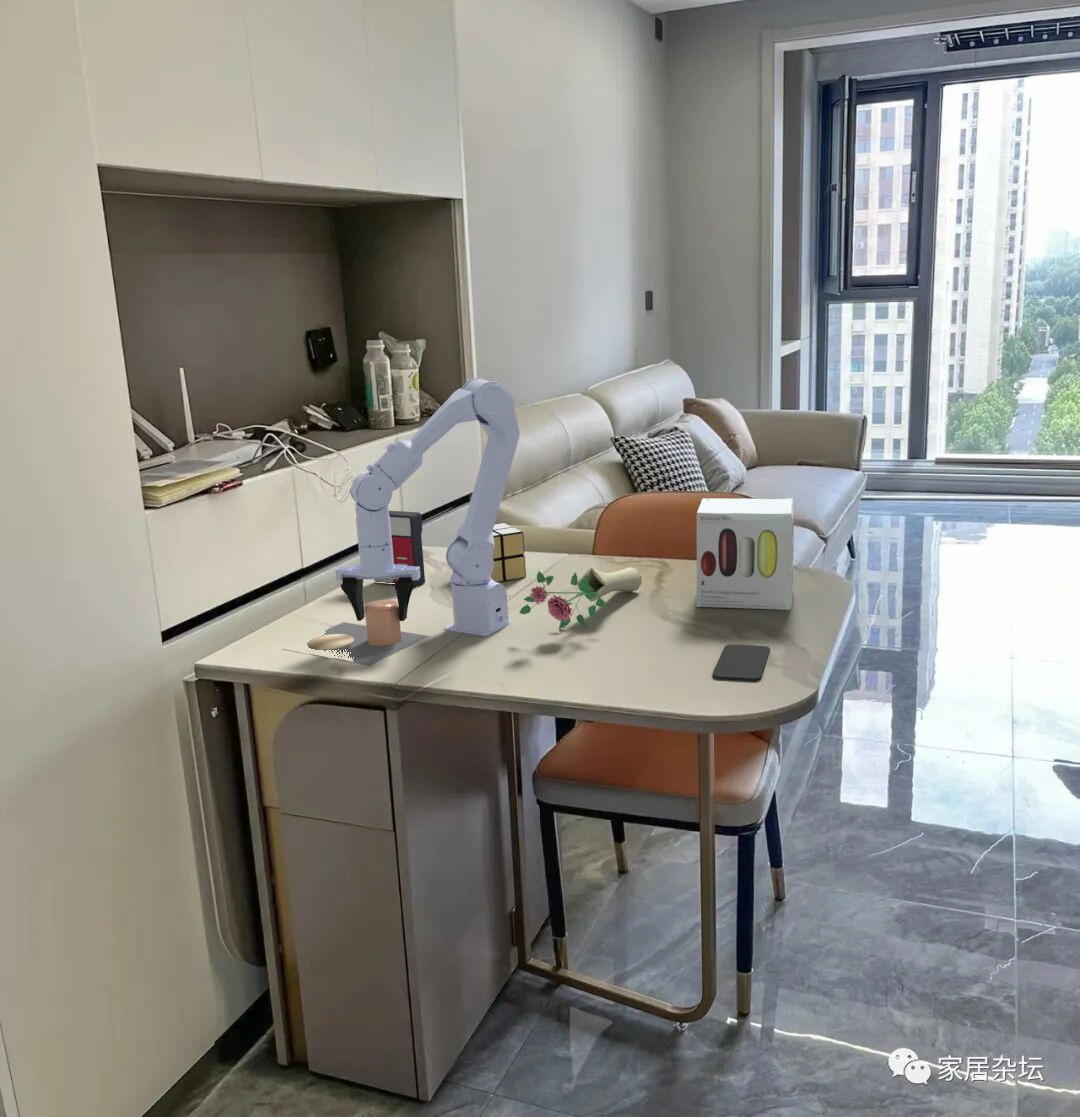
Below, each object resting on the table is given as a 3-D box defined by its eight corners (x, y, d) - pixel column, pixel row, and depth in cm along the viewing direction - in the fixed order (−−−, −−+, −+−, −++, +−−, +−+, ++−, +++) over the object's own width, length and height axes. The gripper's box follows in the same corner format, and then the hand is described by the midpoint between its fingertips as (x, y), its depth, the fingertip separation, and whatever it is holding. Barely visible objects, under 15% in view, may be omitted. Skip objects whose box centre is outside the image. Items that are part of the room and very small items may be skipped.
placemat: (429, 638, 188) (429, 635, 188) (369, 667, 175) (369, 665, 175) (344, 624, 199) (343, 622, 199) (281, 651, 186) (281, 649, 186)
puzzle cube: (464, 575, 228) (461, 529, 226) (507, 567, 232) (504, 522, 230) (482, 585, 219) (478, 538, 217) (526, 578, 223) (523, 531, 221)
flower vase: (643, 632, 208) (567, 651, 177) (589, 608, 213) (506, 622, 182) (663, 576, 206) (590, 585, 175) (608, 552, 211) (527, 558, 180)
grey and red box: (372, 583, 225) (365, 514, 221) (384, 578, 229) (377, 509, 225) (415, 588, 220) (409, 516, 216) (427, 582, 224) (421, 512, 220)
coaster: (363, 639, 189) (363, 637, 189) (332, 653, 182) (331, 651, 182) (329, 633, 193) (329, 631, 193) (297, 647, 186) (297, 645, 186)
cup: (407, 637, 188) (404, 601, 187) (386, 647, 184) (383, 611, 182) (382, 633, 191) (379, 598, 190) (361, 643, 187) (357, 607, 185)
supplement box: (695, 609, 196) (693, 512, 192) (702, 588, 209) (701, 497, 204) (792, 611, 192) (793, 512, 188) (793, 589, 205) (794, 496, 200)
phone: (771, 646, 174) (760, 678, 160) (771, 651, 174) (760, 684, 160) (725, 643, 176) (710, 676, 162) (725, 648, 176) (710, 681, 163)
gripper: (422, 537, 186) (428, 612, 189) (342, 538, 188) (349, 612, 192) (411, 547, 179) (417, 625, 182) (328, 547, 181) (336, 624, 185)
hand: (382, 619), depth 186 cm, fingers open, 7 cm apart
